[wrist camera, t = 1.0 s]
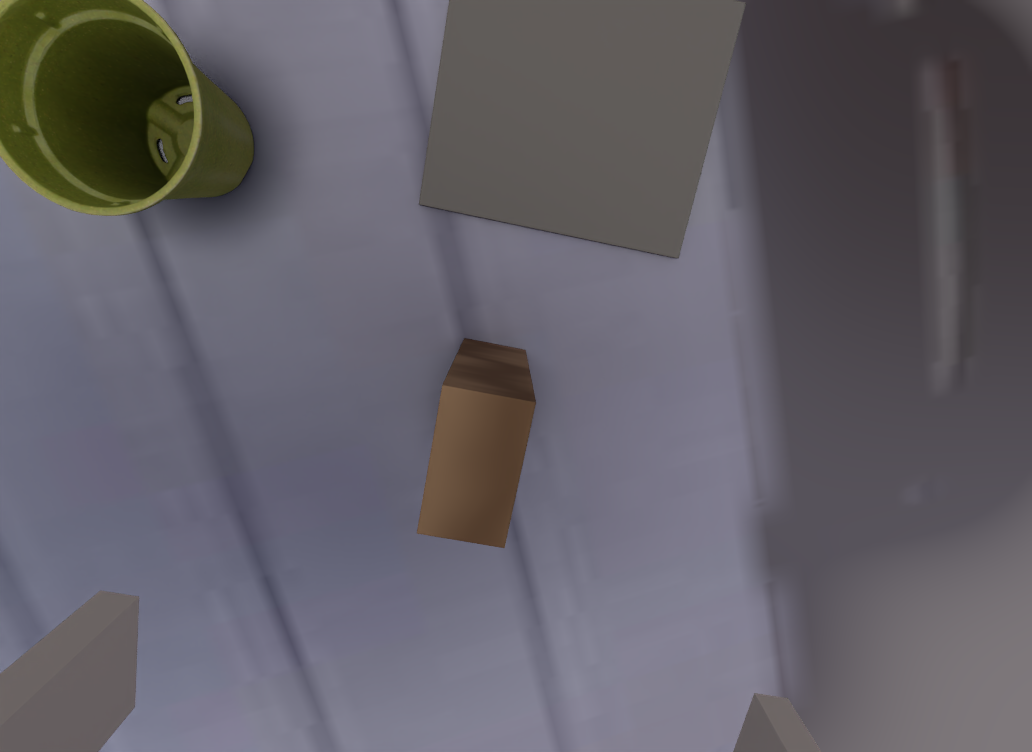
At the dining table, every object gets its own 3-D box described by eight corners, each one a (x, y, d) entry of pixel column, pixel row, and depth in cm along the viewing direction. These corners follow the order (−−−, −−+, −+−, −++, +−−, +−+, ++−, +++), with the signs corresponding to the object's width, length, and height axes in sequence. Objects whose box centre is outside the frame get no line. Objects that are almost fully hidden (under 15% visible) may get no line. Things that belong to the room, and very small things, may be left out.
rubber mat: (420, 204, 32) (418, 204, 31) (460, -61, 28) (459, -67, 28) (675, 258, 33) (678, 258, 32) (740, 7, 29) (745, 2, 29)
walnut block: (446, 439, 35) (417, 533, 23) (464, 338, 33) (442, 385, 22) (504, 449, 35) (504, 548, 24) (525, 349, 34) (535, 402, 22)
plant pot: (93, 74, 30) (-72, 3, 21) (252, 33, 29) (149, -55, 21) (156, 240, 32) (30, 237, 23) (305, 204, 31) (232, 187, 23)
